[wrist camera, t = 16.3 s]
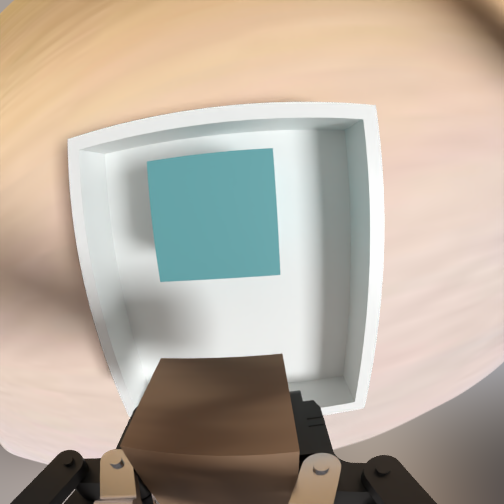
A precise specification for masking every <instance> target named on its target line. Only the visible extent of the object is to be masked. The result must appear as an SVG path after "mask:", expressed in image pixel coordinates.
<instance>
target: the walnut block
mask: <svg viewBox="0 0 504 504" xmlns="http://www.w3.org/2000/svg"><path fill="white" fill-rule="evenodd" d="M120 447H121V449H122V450H123V452H124V454H125V455H126V457H127V458H128V460H129V462H130V463H131V465H132V466H133V468H134V469H135V471H136V472H137V474H138V475H139V477H140V478H141V479H142V481H143V482H144V484H145V485H146V486H147V488H148V489H149V490H150V492H151V493H152V494H153V496H154V497H155V498H156V500H157V501H158V502H159V503H160V504H288V503H289V501H290V498H291V495H292V492H293V490H294V487H295V484H296V481H297V478H298V470H299V454H300V450H299V444H298V439H297V433H296V427H295V421H294V415H293V410H292V404H291V398H290V393H289V387H288V381H287V376H286V370H285V365H284V359H283V354H272V355H259V356H243V357H222V358H161V359H160V361H159V363H158V365H157V367H156V369H155V371H154V373H153V375H152V377H151V379H150V382H149V384H148V386H147V388H146V390H145V392H144V394H143V396H142V398H141V401H140V403H139V405H138V407H137V409H136V411H135V413H134V416H133V418H132V420H131V422H130V424H129V427H128V429H127V431H126V433H125V435H124V438H123V440H122V442H121V444H120Z"/></svg>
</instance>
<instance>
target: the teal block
mask: <svg viewBox="0 0 504 504" xmlns="http://www.w3.org/2000/svg"><path fill="white" fill-rule="evenodd" d="M147 174H148V187H149V198H150V209H151V218H152V227H153V235H154V243H155V250H156V257H157V264H158V271H159V277H160V282H171V281H191V280H210V279H227V278H243V277H258V276H272V275H280V254H279V235H278V217H277V201H276V185H275V171H274V157H273V148H265V149H249V150H236V151H225V152H214V153H205V154H196V155H188V156H181V157H173V158H166V159H160V160H153V161H147Z"/></svg>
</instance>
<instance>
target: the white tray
mask: <svg viewBox="0 0 504 504" xmlns="http://www.w3.org/2000/svg"><path fill="white" fill-rule="evenodd" d="M265 148H273V157H274V171H275V185H276V201H277V217H278V235H279V254H280V275H272V276H258V277H243V278H227V279H210V280H191V281H171V282H160V277H159V271H158V264H157V257H156V250H155V243H154V235H153V227H152V218H151V209H150V198H149V187H148V174H147V161H153V160H160V159H166V158H173V157H181V156H188V155H196V154H205V153H214V152H225V151H236V150H249V149H265ZM68 169H69V185H70V197H71V207H72V216H73V224H74V231H75V238H76V244H77V250H78V256H79V261H80V266H81V271H82V276H83V280H84V285H85V289H86V293H87V298H88V302H89V305H90V309H91V313H92V317H93V320H94V324H95V327H96V330H97V334H98V337H99V340H100V343H101V346H102V349H103V352H104V355H105V358H106V361H107V364H108V367H109V369H110V372H111V375H112V377H113V380H114V382H115V385H116V387H117V390H118V392H119V395H120V397H121V400H122V402H123V404H124V406H125V409H126V411H127V413H128V415H129V417H131V415H132V413H133V411H134V409H135V408H136V407H137V406H138V405H139V403H140V401H141V398H142V396H143V394H144V392H145V390H146V388H147V386H148V384H149V382H150V379H151V377H152V375H153V373H154V371H155V369H156V367H157V365H158V363H159V361H160V359H161V358H222V357H243V356H259V355H272V354H283V359H284V365H285V370H286V376H287V381H288V387H289V391H297V390H300V391H301V395H302V399H303V401H310V400H314V401H315V402H316V403H317V404H318V405H319V406H320V407H321V411H322V414H323V415H330V414H336V413H342V412H347V411H352V410H357V409H362V408H364V407H365V403H366V398H367V393H368V388H369V383H370V378H371V372H372V366H373V360H374V354H375V347H376V340H377V332H378V324H379V315H380V305H381V294H382V280H383V261H384V189H383V170H382V156H381V145H380V135H379V126H378V118H377V111H376V105H367V104H354V103H335V102H272V103H253V104H240V105H229V106H219V107H210V108H203V109H195V110H188V111H182V112H176V113H170V114H164V115H159V116H154V117H149V118H144V119H140V120H135V121H131V122H126V123H122V124H118V125H114V126H110V127H107V128H103V129H99V130H96V131H92V132H89V133H86V134H82V135H79V136H76V137H73V138H70V139H68Z"/></svg>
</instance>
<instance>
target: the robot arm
mask: <svg viewBox="0 0 504 504" xmlns="http://www.w3.org/2000/svg"><path fill="white" fill-rule="evenodd" d="M289 393H290V398H291V404H292V410H293V415H294V421H295V427H296V433H297V439H298V444H299V450H300V454H299V470H298V478H297V481H296V484H295V487H294V490H293V492H292V495H291V498H290V501H289V503H288V504H437V503H436V502H435V501H434V500H433V499H432V498H431V497H430V496H429V495H428V493H427V492H426V491H425V490H424V489H423V488H422V487H421V486H420V485H419V483H418V482H417V481H416V480H415V479H414V478H413V477H412V476H411V474H410V473H409V472H408V471H407V470H406V469H405V468H404V467H403V465H402V464H401V463H400V462H399V461H398V460H397V459H396V458H394V457H392V456H387V455H380V456H376V457H374V458H372V459H371V460H369V461H368V462H367V463H349V462H345V461H343V460H341V459H339V458H338V457H337V456H336V455H335V454H334V452H333V449H332V446H331V442H330V439H329V435H328V432H327V428H326V425H325V421H324V418H323V414H322V411H321V407H320V406H319V405H318V404H317V403H316V402H315V401H314V400H310V401H303V399H302V395H301V391H300V390H297V391H289ZM137 407H138V406H137ZM137 407H136V408H135V409H134V411H133V413H132V415H131V417H130V419H129V422H128V424H127V426H126V428H125V430H124V432H123V434H122V437H121V439H120V441H119V443H118V445H117V448H116V449H114V450H110V451H108V452H106V453H105V454H104V455H103V456H102V458H97V459H83V457H82V456H81V455H80V454H79V453H78V452H76V451H74V450H66V451H63V452H61V453H60V454H58V455H57V456H56V457H55V458H54V459H53V460H52V462H51V463H50V464H49V465H48V466H47V467H46V468H45V469H44V470H43V471H42V472H41V473H40V474H39V475H38V476H37V477H36V478H35V479H34V480H33V481H32V482H31V483H30V484H29V485H28V486H27V487H26V488H25V489H24V490H23V491H22V492H21V493H20V494H19V495H18V496H17V497H16V498H15V499H14V500H13V501H12V503H10V504H62V503H63V502H64V501H65V499H66V498H67V497H68V496H69V495H70V494H71V492H72V491H73V490H74V489H75V491H74V492H73V494H72V495H71V496H70V497H69V498H68V500H66V502H65V503H64V504H156V499H155V497H154V496H153V494H152V493H151V492H150V490H149V489H148V488H147V486H146V485H145V484H144V482H143V481H142V479H141V478H140V477H139V475H138V474H137V472H136V471H135V469H134V468H133V466H132V465H131V463H130V462H129V460H128V458H127V457H126V455H125V454H124V452H123V450H122V449H121V447H120V444H121V442H122V440H123V438H124V435H125V433H126V431H127V429H128V427H129V424H130V422H131V420H132V418H133V416H134V413H135V411H136V409H137Z"/></svg>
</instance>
